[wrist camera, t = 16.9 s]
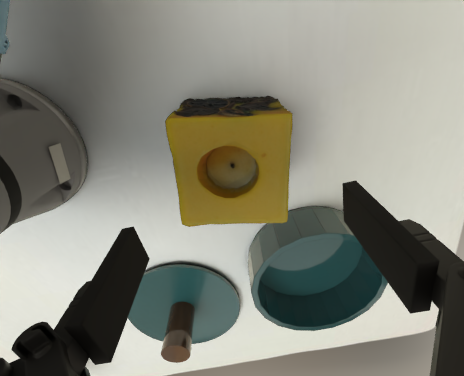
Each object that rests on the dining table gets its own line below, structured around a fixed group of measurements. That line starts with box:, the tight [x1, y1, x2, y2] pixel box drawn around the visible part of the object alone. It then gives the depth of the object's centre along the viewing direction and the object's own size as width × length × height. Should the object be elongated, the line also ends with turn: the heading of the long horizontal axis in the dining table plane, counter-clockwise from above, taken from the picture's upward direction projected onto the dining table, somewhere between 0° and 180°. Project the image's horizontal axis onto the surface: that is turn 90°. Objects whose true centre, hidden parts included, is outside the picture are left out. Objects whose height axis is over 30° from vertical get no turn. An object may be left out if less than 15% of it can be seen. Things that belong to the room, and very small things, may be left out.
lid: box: [128, 264, 240, 363], centre depth 39 cm, size 19×19×8 cm
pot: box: [248, 206, 388, 331], centre depth 36 cm, size 18×18×6 cm
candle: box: [165, 96, 292, 227], centre depth 26 cm, size 10×10×10 cm
